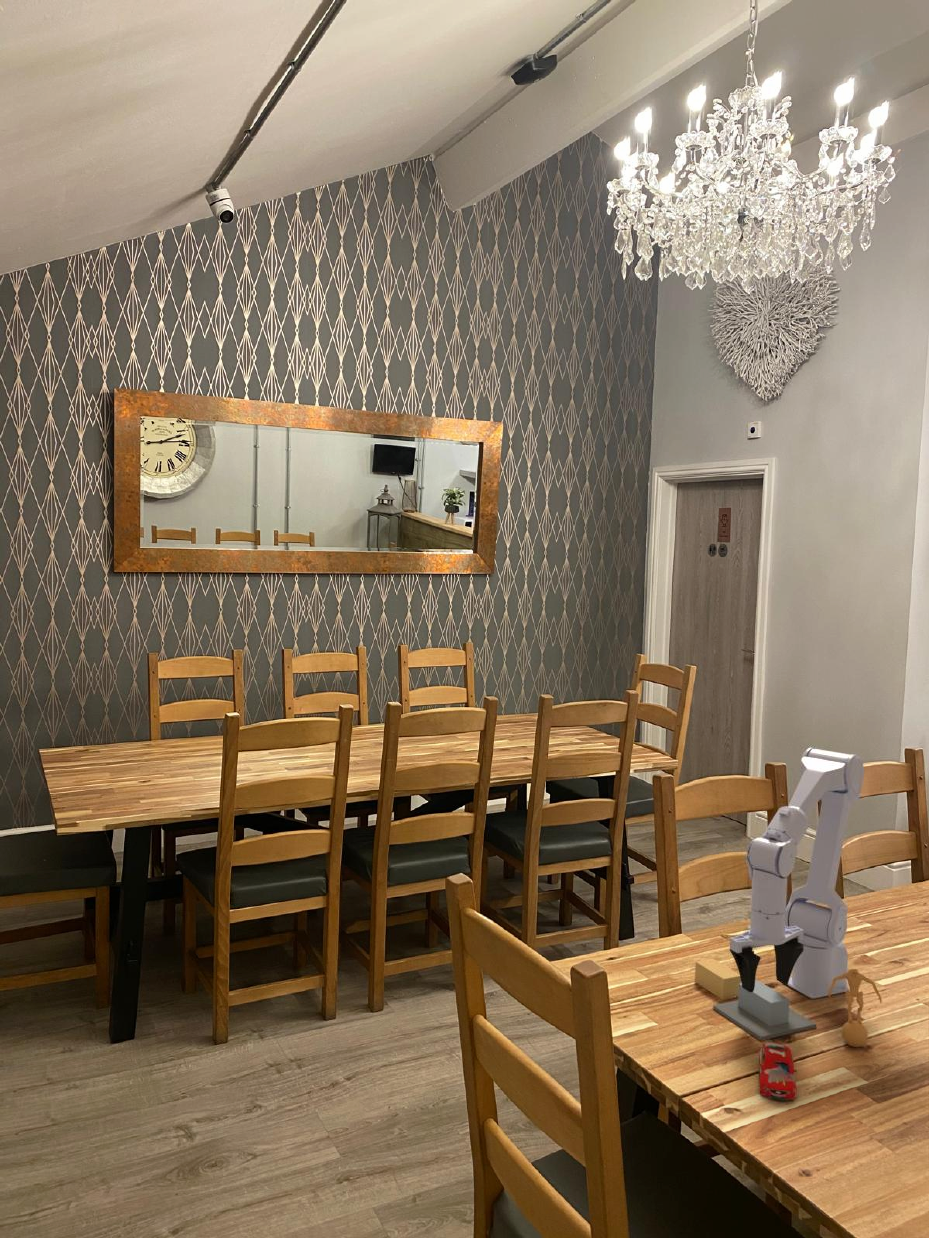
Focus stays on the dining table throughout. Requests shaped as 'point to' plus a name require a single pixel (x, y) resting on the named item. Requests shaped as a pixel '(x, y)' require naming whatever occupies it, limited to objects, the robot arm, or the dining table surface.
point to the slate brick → (764, 1004)
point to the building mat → (761, 1028)
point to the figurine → (852, 1029)
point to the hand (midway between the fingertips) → (765, 985)
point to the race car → (777, 1072)
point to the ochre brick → (717, 978)
